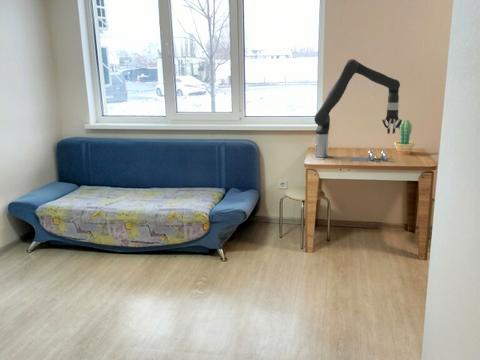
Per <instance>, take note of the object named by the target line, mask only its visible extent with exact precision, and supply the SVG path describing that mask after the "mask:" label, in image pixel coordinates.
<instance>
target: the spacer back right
mask: <svg viewBox="0 0 480 360" xmlns="http://www.w3.org/2000/svg"><path fill="white" fill-rule="evenodd" d="M384 153H386V154H387V151H385V150H381V154H380V155H381V156H380V157H381V158H382V159H383V154H384Z"/></svg>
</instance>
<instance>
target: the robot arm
mask: <svg viewBox="0 0 480 360" xmlns="http://www.w3.org/2000/svg"><path fill="white" fill-rule="evenodd" d="M355 74H359V75H360V76H362V77H365V78H366V79H368V80H370V81H371V82H373V83H375V84H378V85H381V86H384V87H385V88H387V89H388V96H387V105H386V116H385V118H384V119H381V121H382V124H383V126H384V128H386V129H387V133H386V134H388V135H390V133H391V124H392V134H395V133H396V129H397V128H398V127H399V125H400V123H401V122H402V121H403V120H402V119H400V118H399V107H400V105H399V101H400V100H399V99H400V97H399V95H400V94H399V91H400V90H399V89H400V87H401V83H400V82H401V81H399V80H398V79H394V78H393V77H390V76H388V75H386V74H384V73H381V72H379V71H377V70H374V69H371V68H369V67H367V66H365V65H364V64H362V63H360V62H358V61H357V60H356V59H354V58H352V59H351V58H350V59H348V60H347V61H346V62H345V64H344V67H343V69H342V71H341V73H340V74H339V77H338V79H337V80H336V81H335V83H334V84H333V86H332V87H331V89H330V91H329V92H328V94H327V96H326V98H325V99H324V102H323V104H322V105H321V107H320V108H319V110H318V111H317V112H316V114H315V116H314V123H315V124H316V125H317V127H316V129H315V143H314V145H315V152H314V155H315V156H314V157H315V158H326V157H327V158H328V156H329V155H328V153H329V130H330V127H331V126H330V125H331V117H330V112H331V111H332V109H333V108H335V106H336V105H337V104H338V103H339V101H341V99H342V97H343V95H344V94H345V92H346V89H347V88H348V85H349V83H350V80H352V78H353V76H354V75H355ZM386 123H387V124H386ZM396 123H397V124H396ZM398 129H399V128H398Z"/></svg>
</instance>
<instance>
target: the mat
mask: <svg viewBox="0 0 480 360" xmlns="http://www.w3.org/2000/svg"><path fill="white" fill-rule="evenodd" d="M349 160H350V162H371V161H370V158H368V157H356V156H355V157H354V156H353V157H349ZM373 162H384V161H383V159H382V158H381V160H375V157H374V161H373ZM385 162H388V160H387V161H385Z"/></svg>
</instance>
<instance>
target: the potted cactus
mask: <svg viewBox="0 0 480 360" xmlns="http://www.w3.org/2000/svg"><path fill="white" fill-rule="evenodd" d="M396 129H397V130H399V131H398V132H399V134H400V136H399V137H400V139H399V140H400V141H399V140H398V141H394V142H393V144H394V146H395V149H396V150H397V154H401V155H402V154H403V155H407V154H408V155H410V154H411V151H412V150H413V149H414V147H415V146H416V142H414V141H410V136H411V133H412V131H413V130H412V129H413V125H412V123H411V122H410V120H406V119H404V120H402V122H401V123H400V125H399V127H398V128H396Z"/></svg>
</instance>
